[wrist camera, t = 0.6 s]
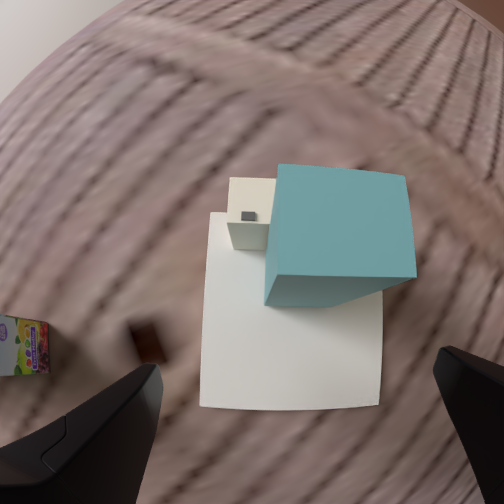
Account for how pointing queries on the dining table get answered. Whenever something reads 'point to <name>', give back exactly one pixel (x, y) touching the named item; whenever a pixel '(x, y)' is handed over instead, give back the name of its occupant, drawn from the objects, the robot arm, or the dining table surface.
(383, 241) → the tall teal pillar
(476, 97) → the dining table surface
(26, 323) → the snack box
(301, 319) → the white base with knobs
